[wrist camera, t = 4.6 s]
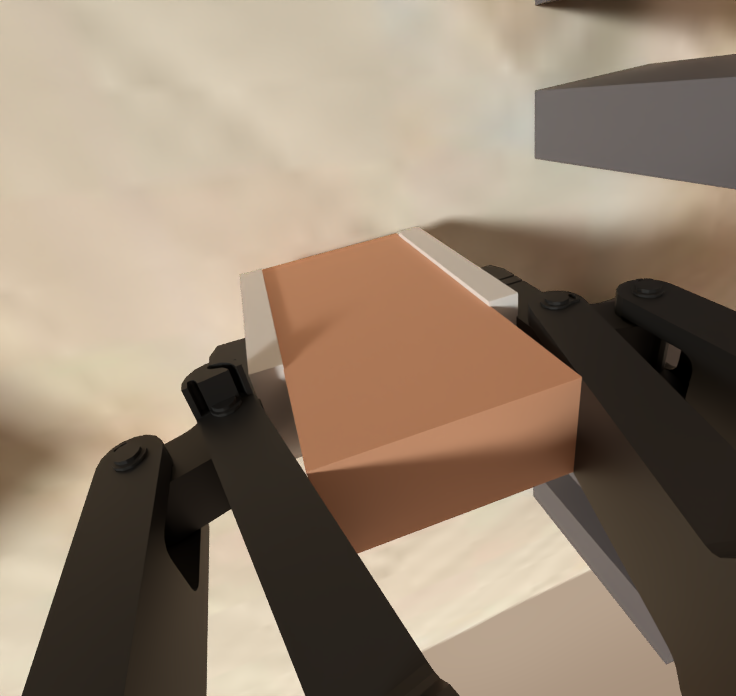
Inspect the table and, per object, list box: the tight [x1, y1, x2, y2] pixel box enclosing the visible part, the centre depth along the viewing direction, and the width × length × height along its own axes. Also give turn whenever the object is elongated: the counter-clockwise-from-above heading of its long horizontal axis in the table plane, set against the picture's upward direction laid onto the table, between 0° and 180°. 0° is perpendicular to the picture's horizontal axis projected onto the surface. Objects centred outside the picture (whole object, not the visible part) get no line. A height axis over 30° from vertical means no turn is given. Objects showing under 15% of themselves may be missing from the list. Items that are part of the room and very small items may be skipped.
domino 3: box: [533, 474, 674, 664], centre depth 23 cm, size 2×5×10 cm, turn 101°
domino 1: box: [262, 233, 582, 553], centre depth 12 cm, size 2×5×10 cm, turn 100°
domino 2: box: [535, 54, 736, 189], centre depth 13 cm, size 2×5×10 cm, turn 100°
